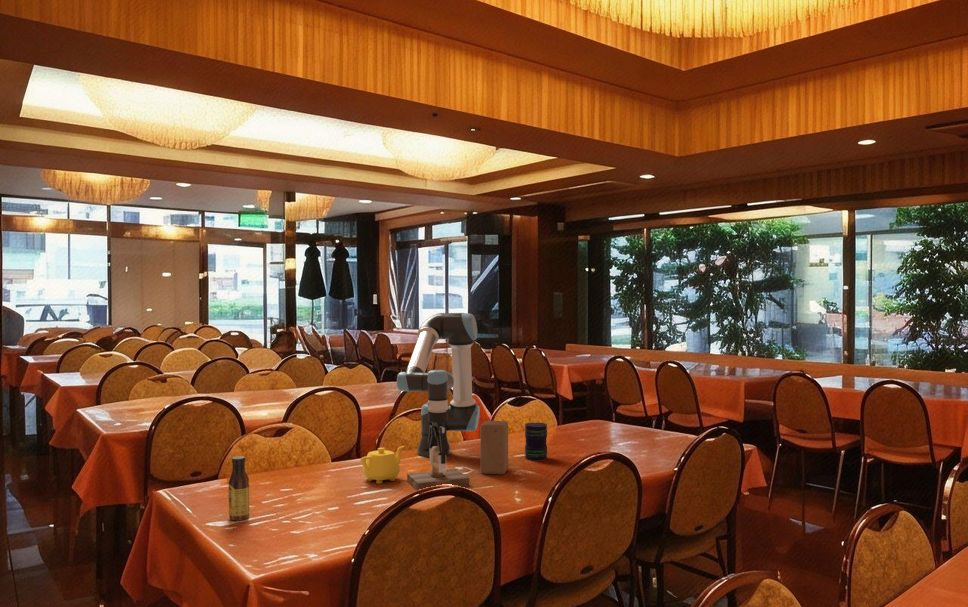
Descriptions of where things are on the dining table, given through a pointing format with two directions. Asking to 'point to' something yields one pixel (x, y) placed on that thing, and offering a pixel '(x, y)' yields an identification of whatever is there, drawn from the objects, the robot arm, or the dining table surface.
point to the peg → (435, 463)
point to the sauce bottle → (238, 490)
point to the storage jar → (536, 441)
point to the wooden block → (494, 447)
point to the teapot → (381, 465)
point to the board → (437, 479)
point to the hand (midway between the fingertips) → (437, 468)
